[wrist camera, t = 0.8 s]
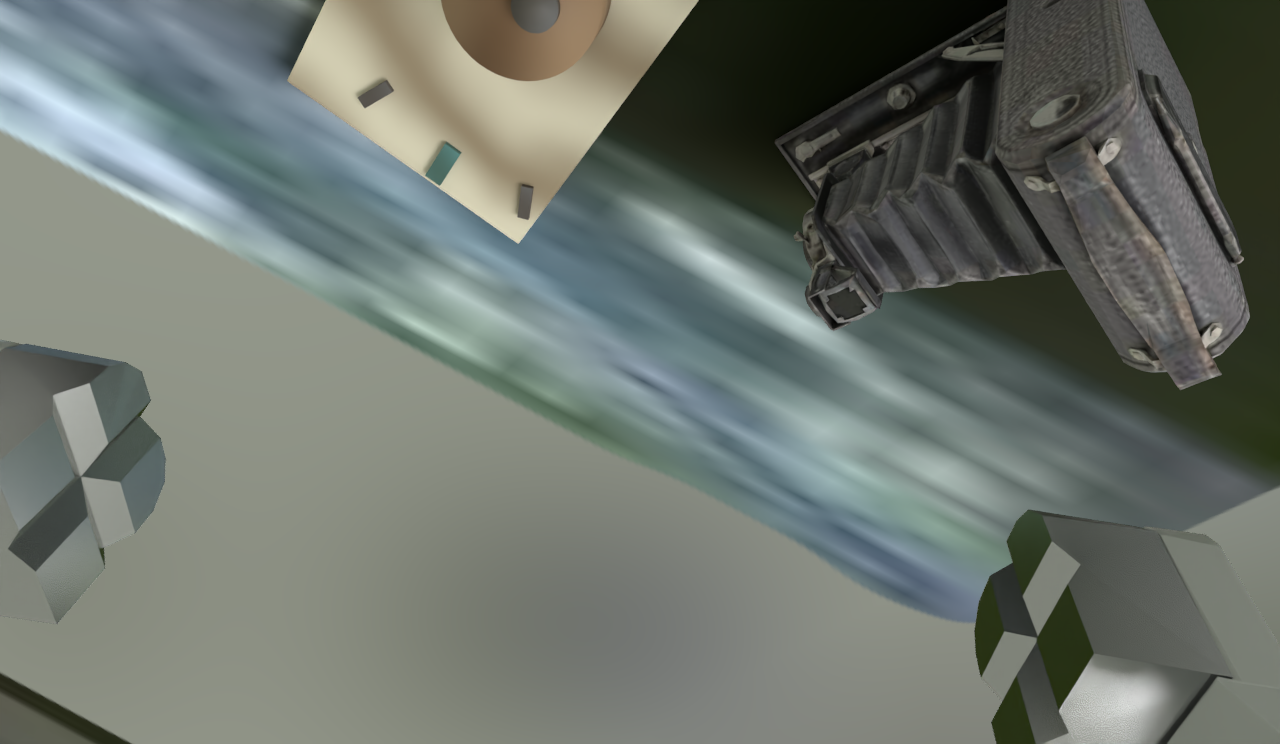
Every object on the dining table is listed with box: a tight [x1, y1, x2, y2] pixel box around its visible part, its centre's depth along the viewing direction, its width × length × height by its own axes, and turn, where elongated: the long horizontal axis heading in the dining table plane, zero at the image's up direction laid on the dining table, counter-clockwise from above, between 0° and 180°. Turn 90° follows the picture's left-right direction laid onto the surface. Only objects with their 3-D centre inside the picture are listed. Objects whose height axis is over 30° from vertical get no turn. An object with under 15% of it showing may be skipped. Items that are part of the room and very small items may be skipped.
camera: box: [775, 0, 1250, 390], centre depth 36 cm, size 11×17×20 cm, turn 127°
